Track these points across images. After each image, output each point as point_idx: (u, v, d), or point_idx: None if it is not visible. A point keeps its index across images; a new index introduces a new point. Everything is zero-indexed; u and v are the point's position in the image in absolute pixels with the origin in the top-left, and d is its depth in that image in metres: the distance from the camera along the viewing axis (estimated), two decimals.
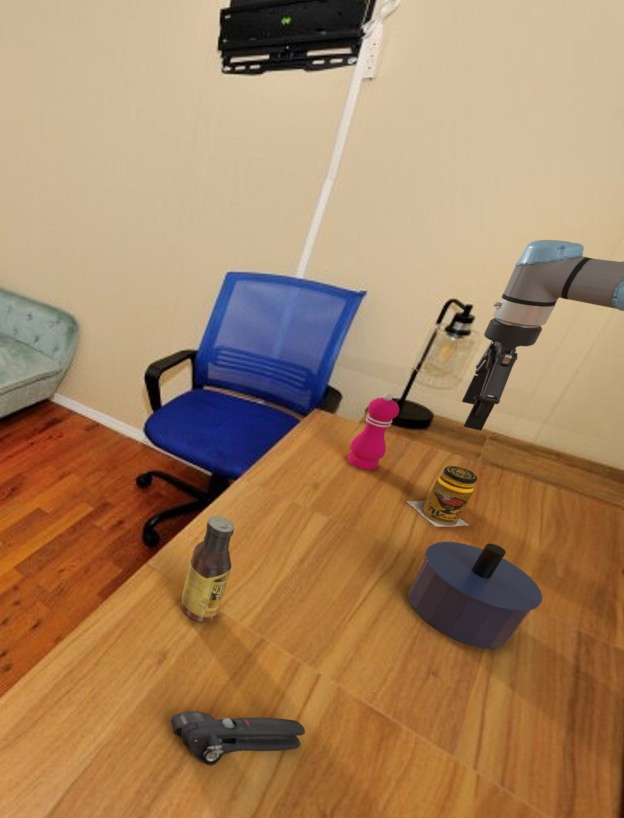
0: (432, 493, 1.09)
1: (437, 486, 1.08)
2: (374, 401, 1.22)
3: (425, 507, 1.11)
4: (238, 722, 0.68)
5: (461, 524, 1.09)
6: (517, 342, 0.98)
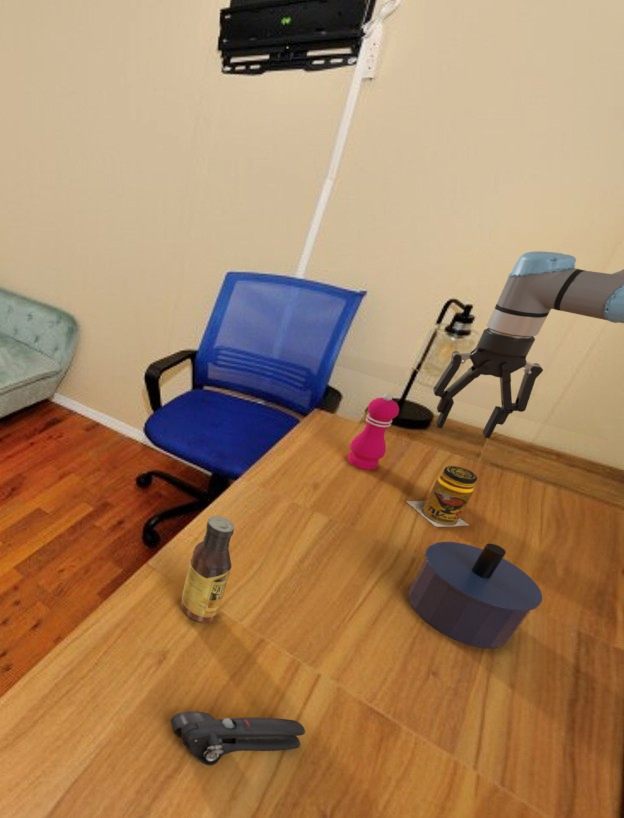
0: (432, 493, 1.09)
1: (437, 486, 1.08)
2: (374, 401, 1.22)
3: (425, 507, 1.11)
4: (238, 722, 0.68)
5: (461, 524, 1.09)
6: (480, 344, 1.03)
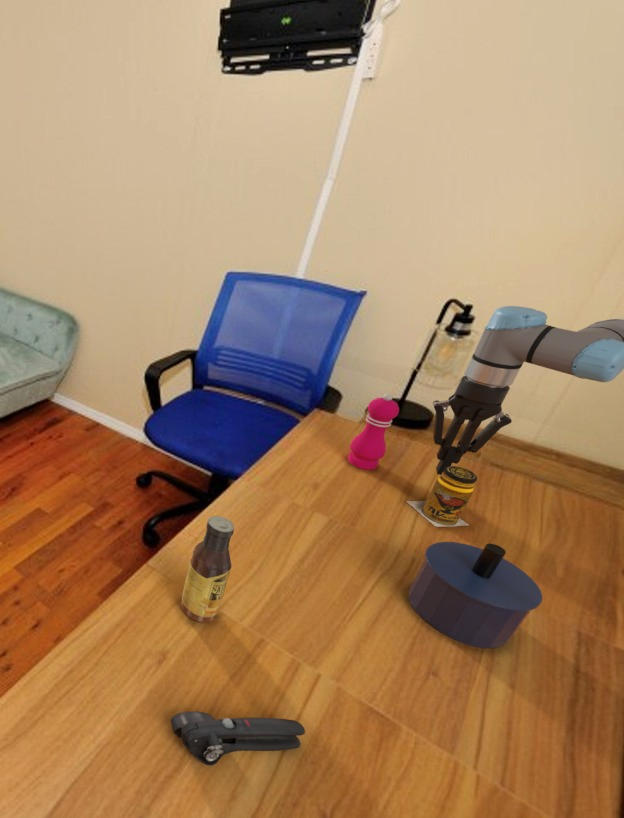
0: (432, 493, 1.09)
1: (437, 486, 1.08)
2: (374, 401, 1.22)
3: (425, 507, 1.11)
4: (238, 722, 0.68)
5: (461, 524, 1.09)
6: (458, 390, 1.08)
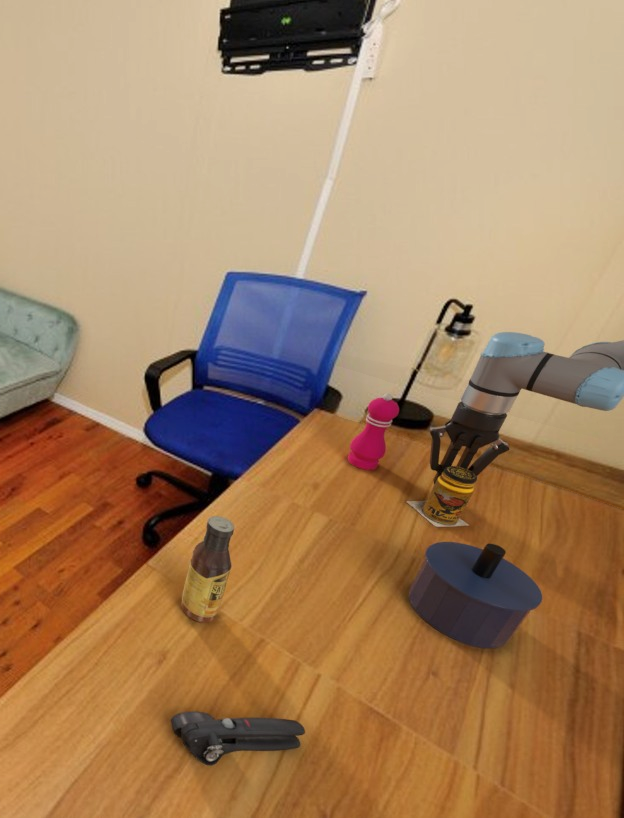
0: (432, 493, 1.09)
1: (437, 486, 1.08)
2: (374, 401, 1.22)
3: (425, 507, 1.11)
4: (238, 722, 0.68)
5: (461, 524, 1.09)
6: (454, 417, 1.06)
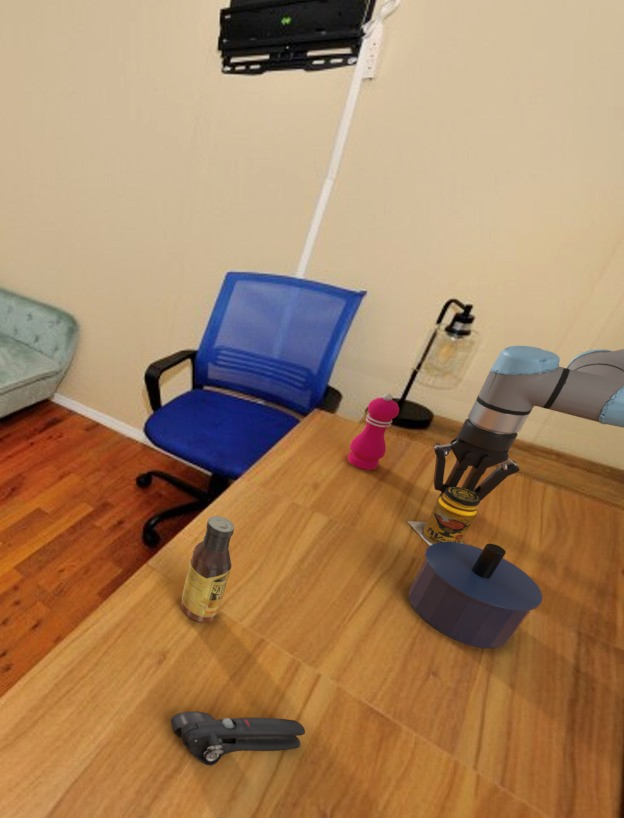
0: (432, 513, 1.04)
1: (437, 506, 1.02)
2: (374, 401, 1.22)
3: (425, 528, 1.06)
4: (238, 722, 0.68)
5: None
6: (461, 435, 0.99)
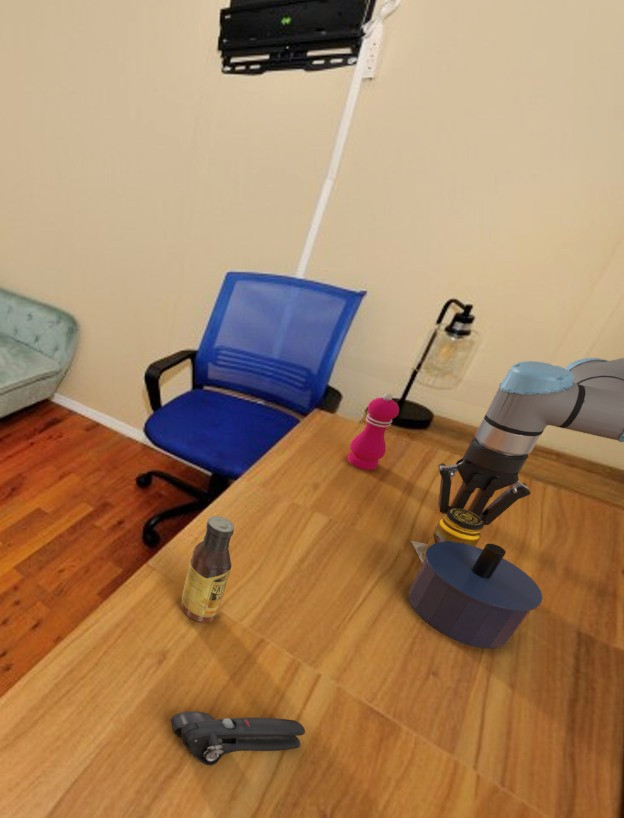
0: (432, 534, 0.98)
1: (437, 527, 0.97)
2: (374, 401, 1.22)
3: (425, 549, 1.00)
4: (238, 722, 0.68)
5: None
6: (467, 455, 0.93)
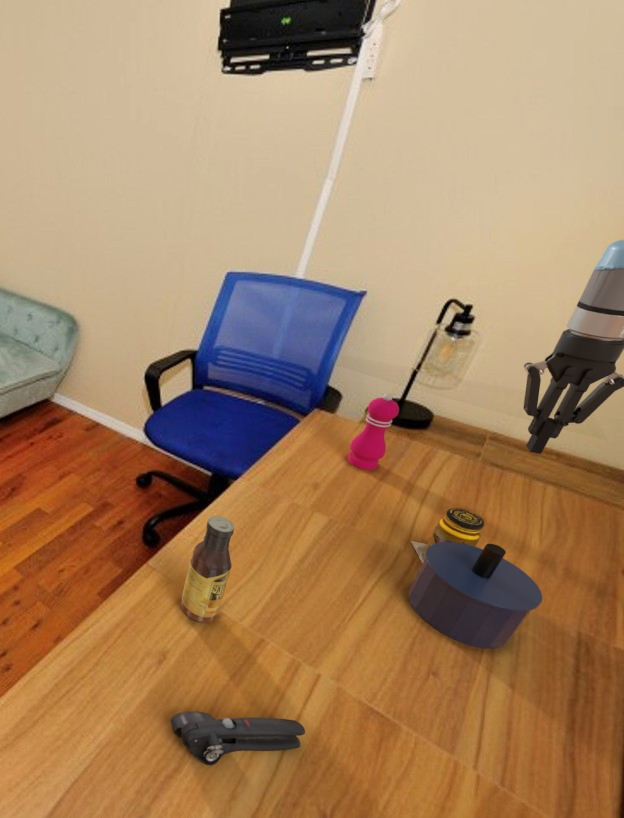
0: (432, 534, 0.98)
1: (437, 527, 0.97)
2: (374, 401, 1.22)
3: (425, 549, 1.00)
4: (238, 722, 0.68)
5: None
6: (559, 348, 0.89)
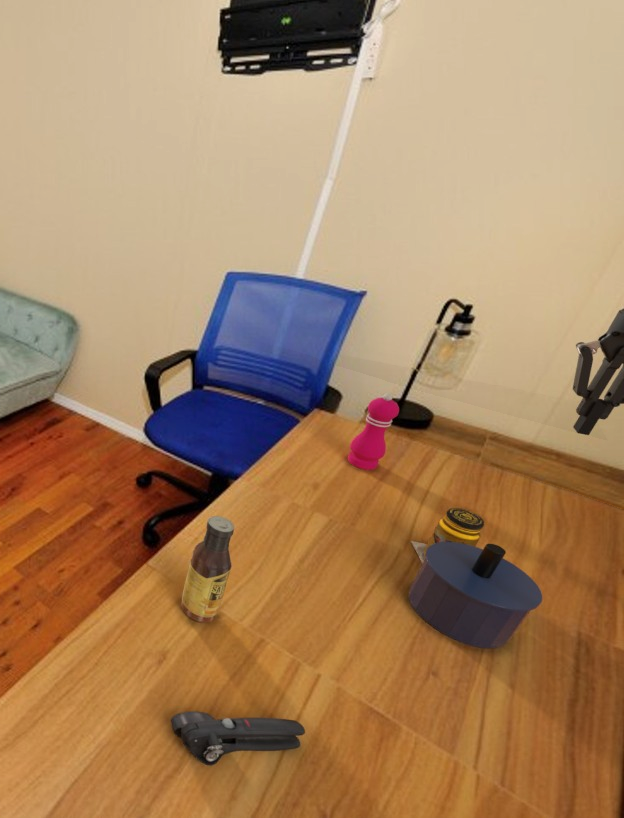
0: (432, 534, 0.98)
1: (437, 527, 0.97)
2: (374, 401, 1.22)
3: (425, 549, 1.00)
4: (238, 722, 0.68)
5: None
6: (614, 327, 0.88)
